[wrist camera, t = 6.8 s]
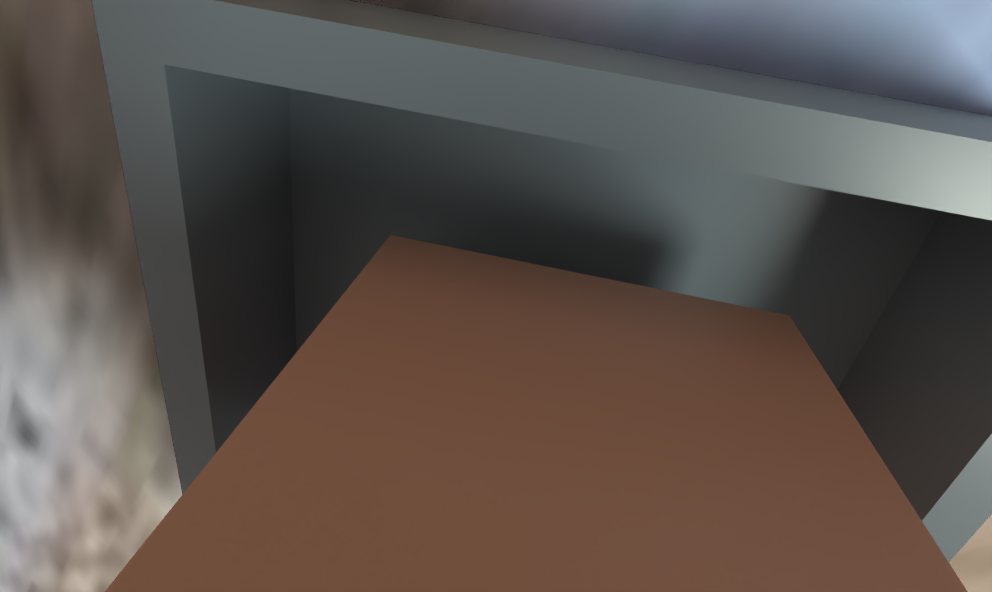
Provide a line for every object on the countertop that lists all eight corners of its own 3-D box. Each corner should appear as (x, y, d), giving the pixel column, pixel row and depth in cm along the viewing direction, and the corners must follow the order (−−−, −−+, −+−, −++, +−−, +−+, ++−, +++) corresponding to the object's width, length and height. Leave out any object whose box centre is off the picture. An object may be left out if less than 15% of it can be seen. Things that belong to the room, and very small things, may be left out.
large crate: (1013, 118, 9) (1275, 193, 6) (732, 587, 16) (775, 758, 12) (263, -17, 10) (87, -23, 6) (287, 489, 16) (206, 625, 13)
